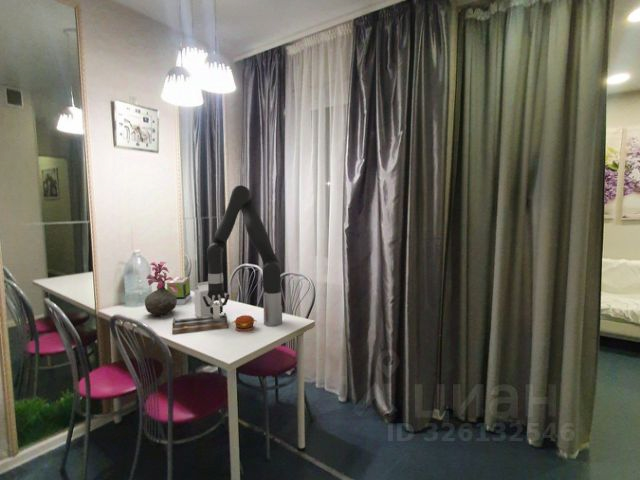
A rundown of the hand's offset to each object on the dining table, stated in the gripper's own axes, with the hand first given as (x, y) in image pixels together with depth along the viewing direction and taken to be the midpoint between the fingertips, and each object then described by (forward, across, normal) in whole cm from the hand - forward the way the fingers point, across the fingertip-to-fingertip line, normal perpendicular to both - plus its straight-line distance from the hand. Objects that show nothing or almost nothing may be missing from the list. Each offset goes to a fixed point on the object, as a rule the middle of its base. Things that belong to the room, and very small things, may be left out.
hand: (216, 313), depth 173 cm
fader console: (+6, +8, 0) cm, 10 cm away
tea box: (+6, +20, -49) cm, 53 cm away
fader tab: (+4, 0, 0) cm, 4 cm away
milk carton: (+6, +6, -17) cm, 19 cm away
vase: (+6, +28, -26) cm, 39 cm away
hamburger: (+6, -13, +11) cm, 18 cm away
